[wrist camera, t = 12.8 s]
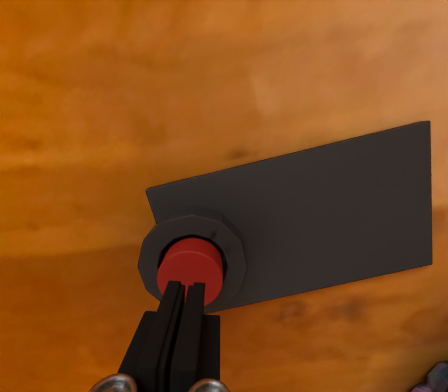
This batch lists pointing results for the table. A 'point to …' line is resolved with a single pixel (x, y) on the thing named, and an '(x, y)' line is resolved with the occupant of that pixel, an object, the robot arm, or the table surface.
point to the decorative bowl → (435, 380)
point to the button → (192, 267)
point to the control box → (303, 217)
